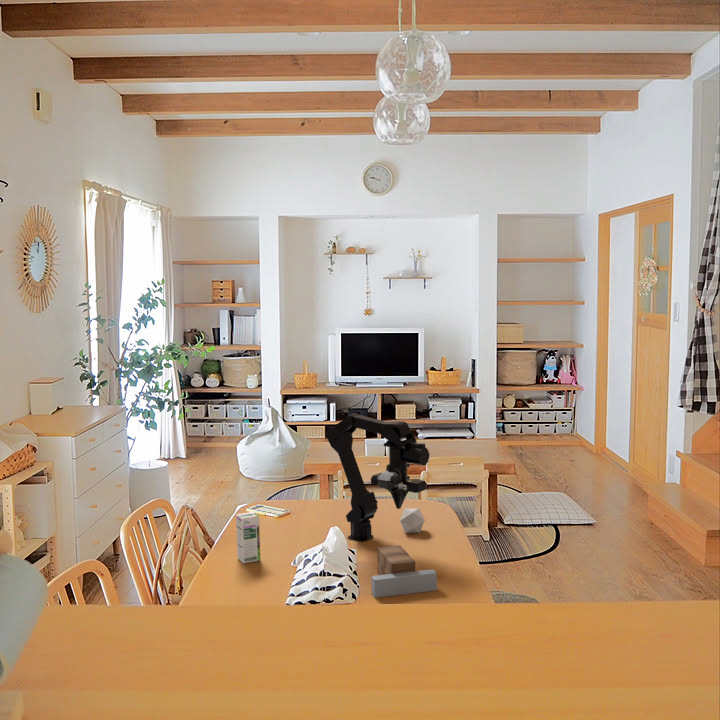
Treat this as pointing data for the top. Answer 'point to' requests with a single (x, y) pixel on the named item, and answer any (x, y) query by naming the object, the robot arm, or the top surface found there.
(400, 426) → the robot arm
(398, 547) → the walnut block
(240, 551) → the syrup box
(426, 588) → the board
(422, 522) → the die
